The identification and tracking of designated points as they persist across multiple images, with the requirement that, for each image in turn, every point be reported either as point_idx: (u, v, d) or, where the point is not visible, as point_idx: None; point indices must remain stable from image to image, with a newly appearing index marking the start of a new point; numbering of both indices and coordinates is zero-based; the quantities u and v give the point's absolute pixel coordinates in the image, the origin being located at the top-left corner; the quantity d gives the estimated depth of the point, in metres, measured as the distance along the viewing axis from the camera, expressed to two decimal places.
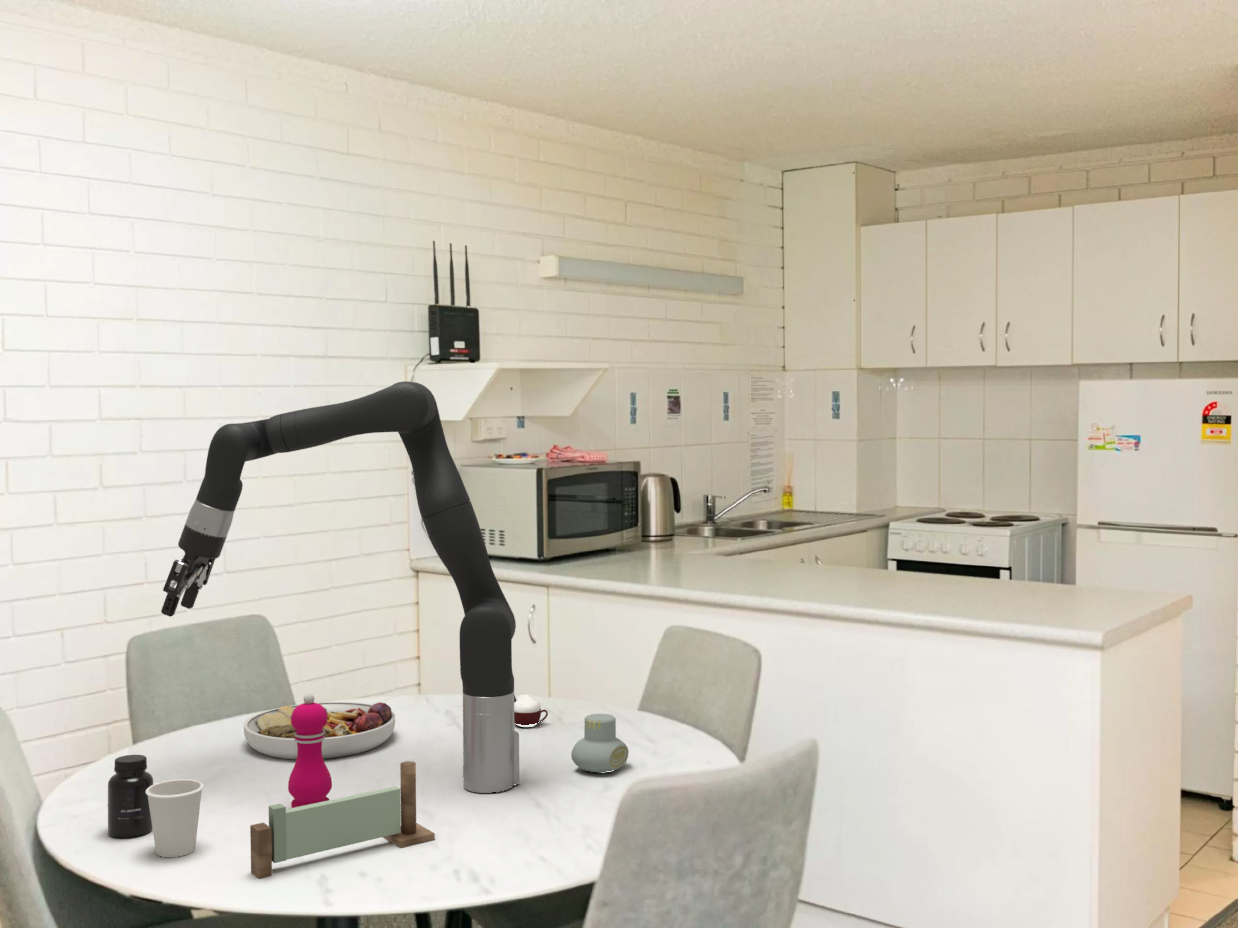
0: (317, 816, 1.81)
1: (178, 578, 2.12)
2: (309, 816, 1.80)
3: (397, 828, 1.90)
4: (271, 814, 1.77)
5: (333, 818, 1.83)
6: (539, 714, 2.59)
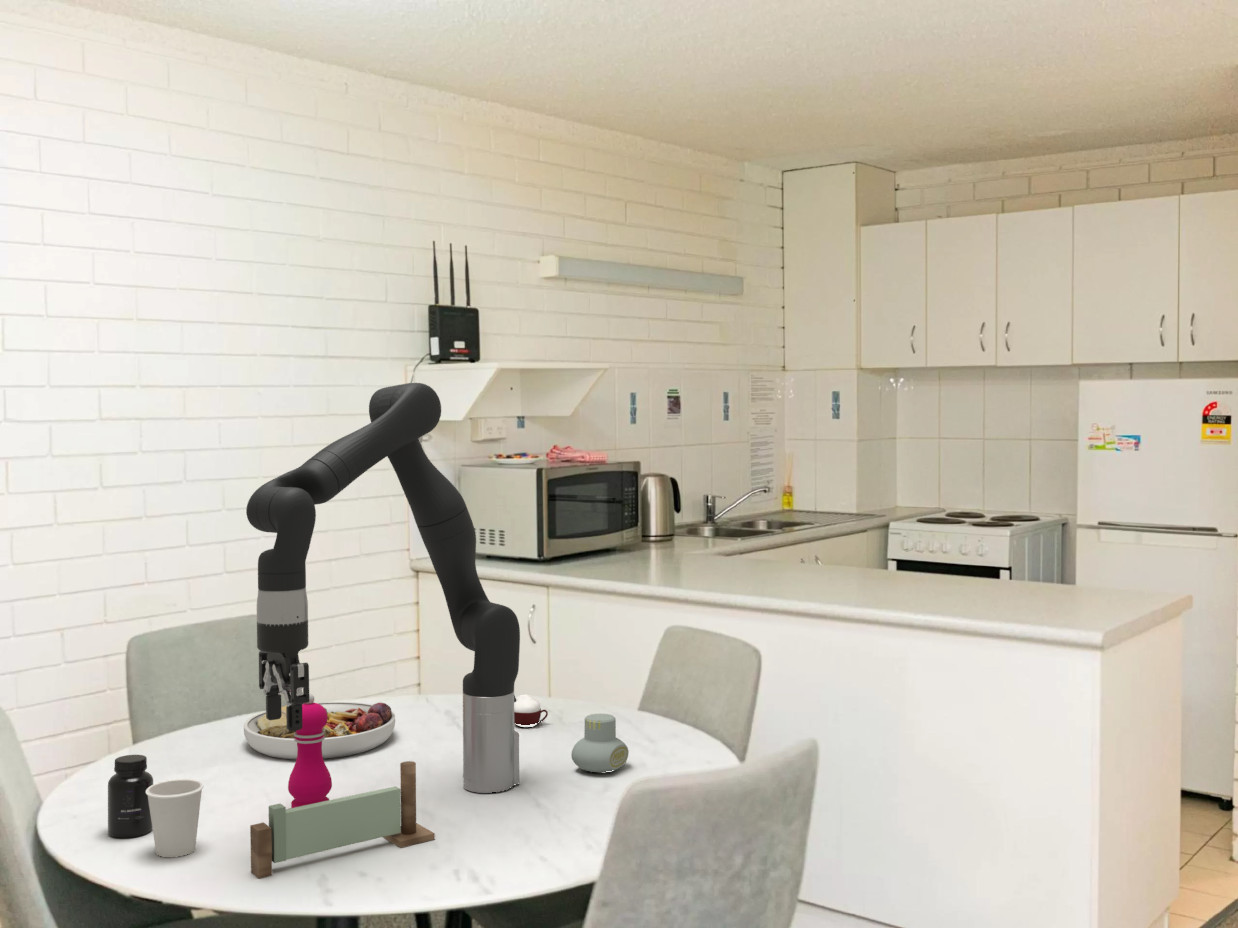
0: (317, 816, 1.81)
1: (305, 682, 1.79)
2: (309, 816, 1.80)
3: (397, 828, 1.90)
4: (271, 814, 1.77)
5: (333, 818, 1.83)
6: (539, 714, 2.59)
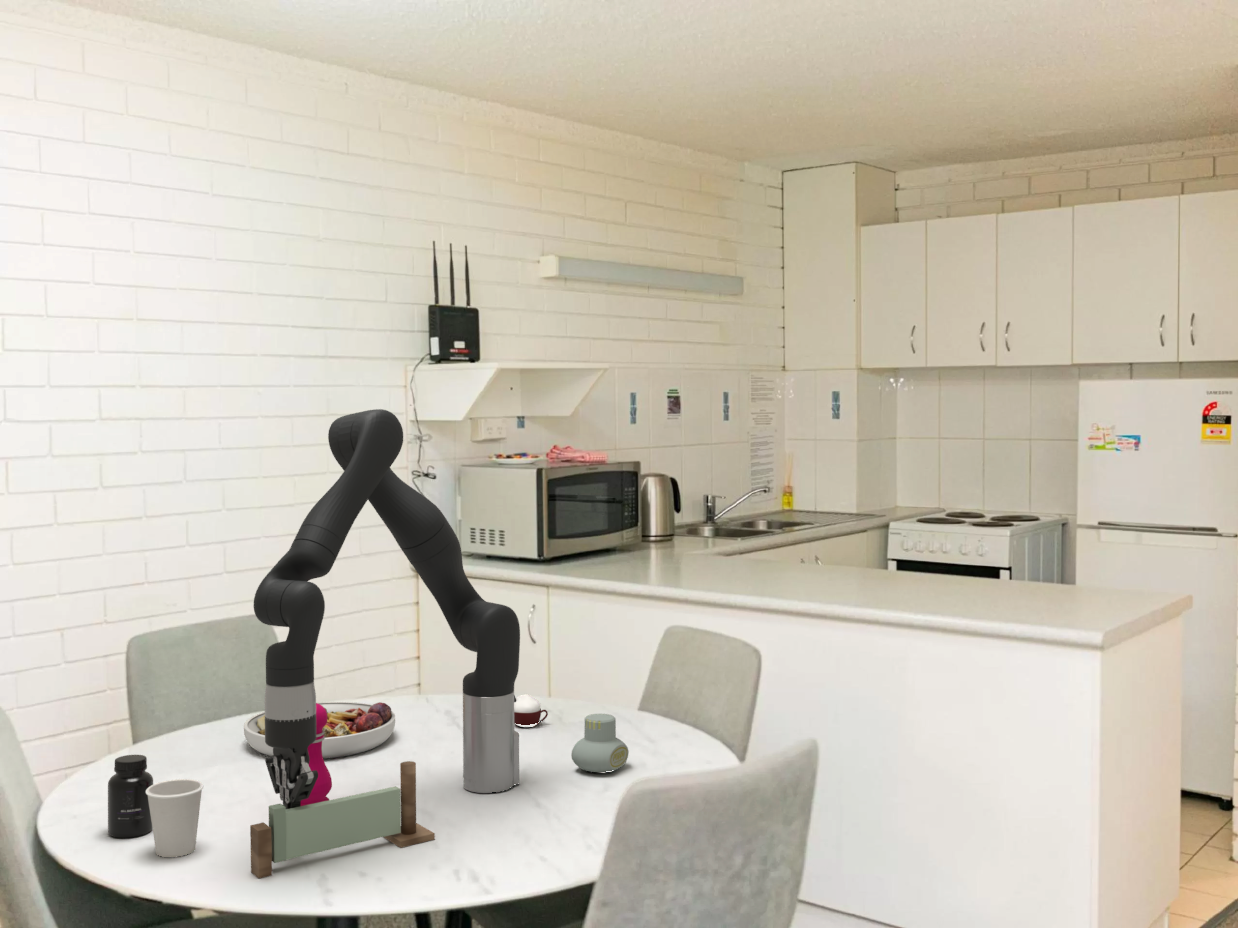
0: (317, 816, 1.81)
1: (310, 787, 1.80)
2: (309, 816, 1.80)
3: (397, 828, 1.90)
4: (271, 814, 1.77)
5: (333, 818, 1.83)
6: (539, 714, 2.59)
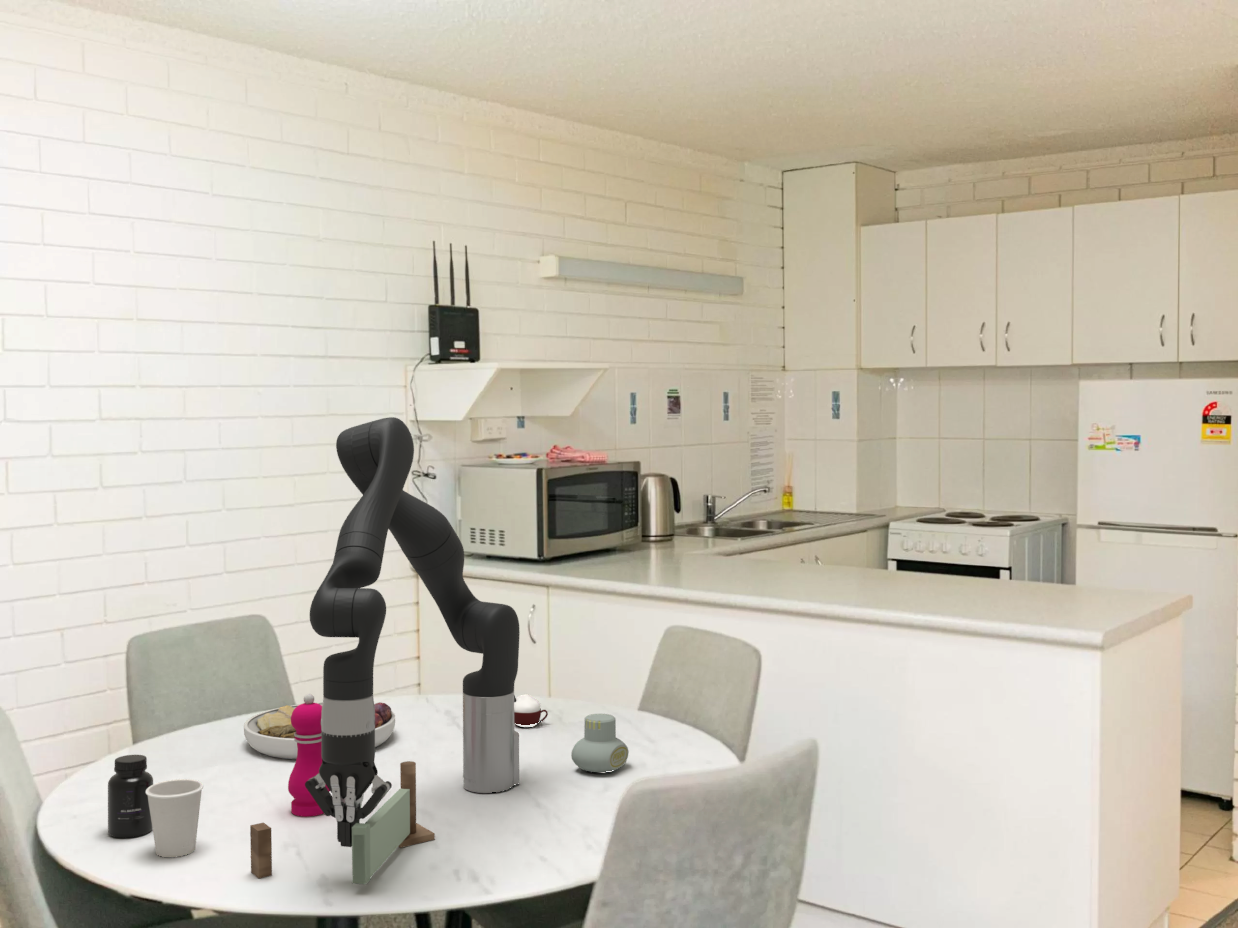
0: (380, 828, 1.76)
1: (380, 800, 1.74)
2: (377, 830, 1.75)
3: (408, 828, 1.89)
4: (360, 834, 1.69)
5: (386, 829, 1.78)
6: (539, 714, 2.59)
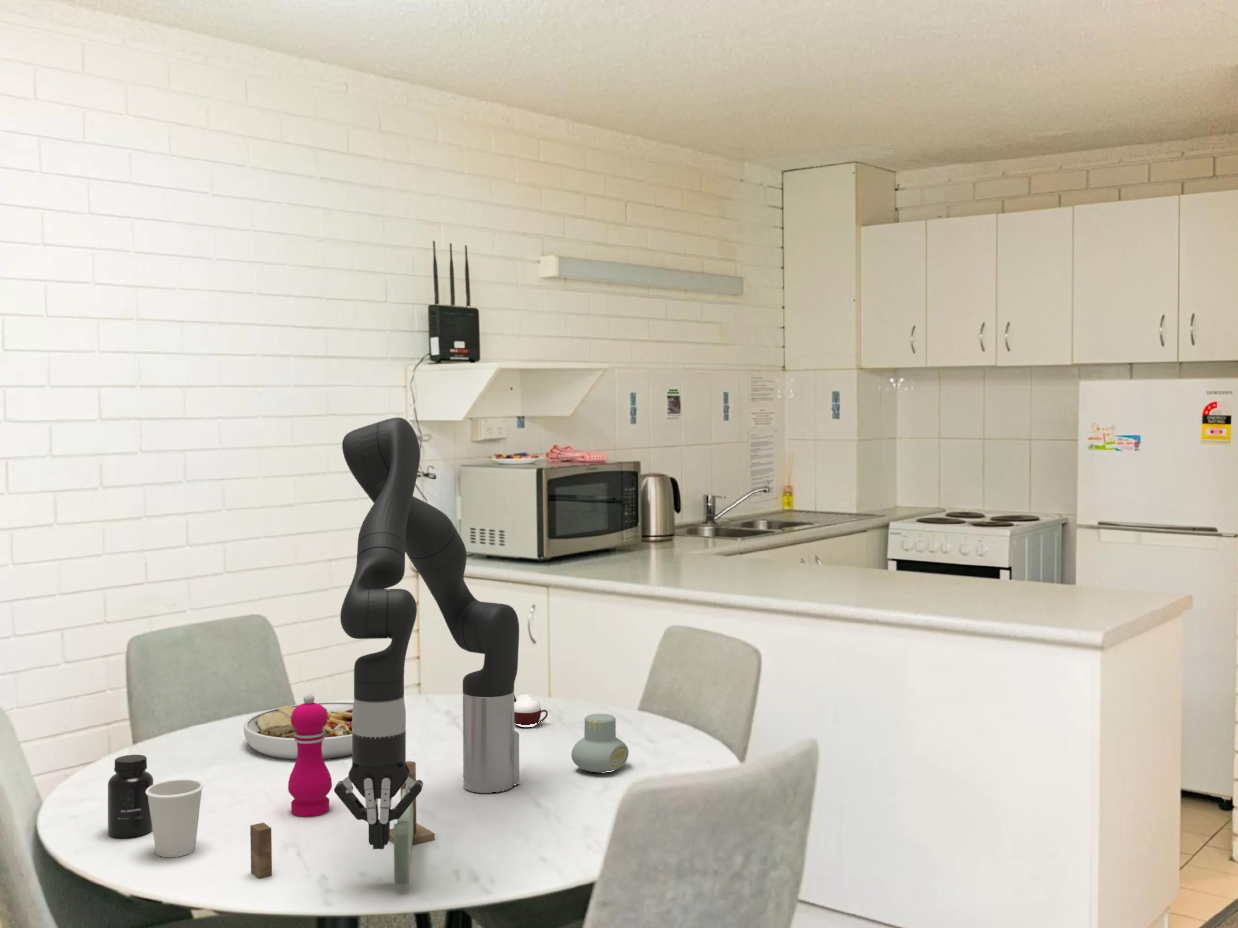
0: None
1: None
2: None
3: None
4: (402, 834, 1.69)
5: None
6: (539, 714, 2.59)
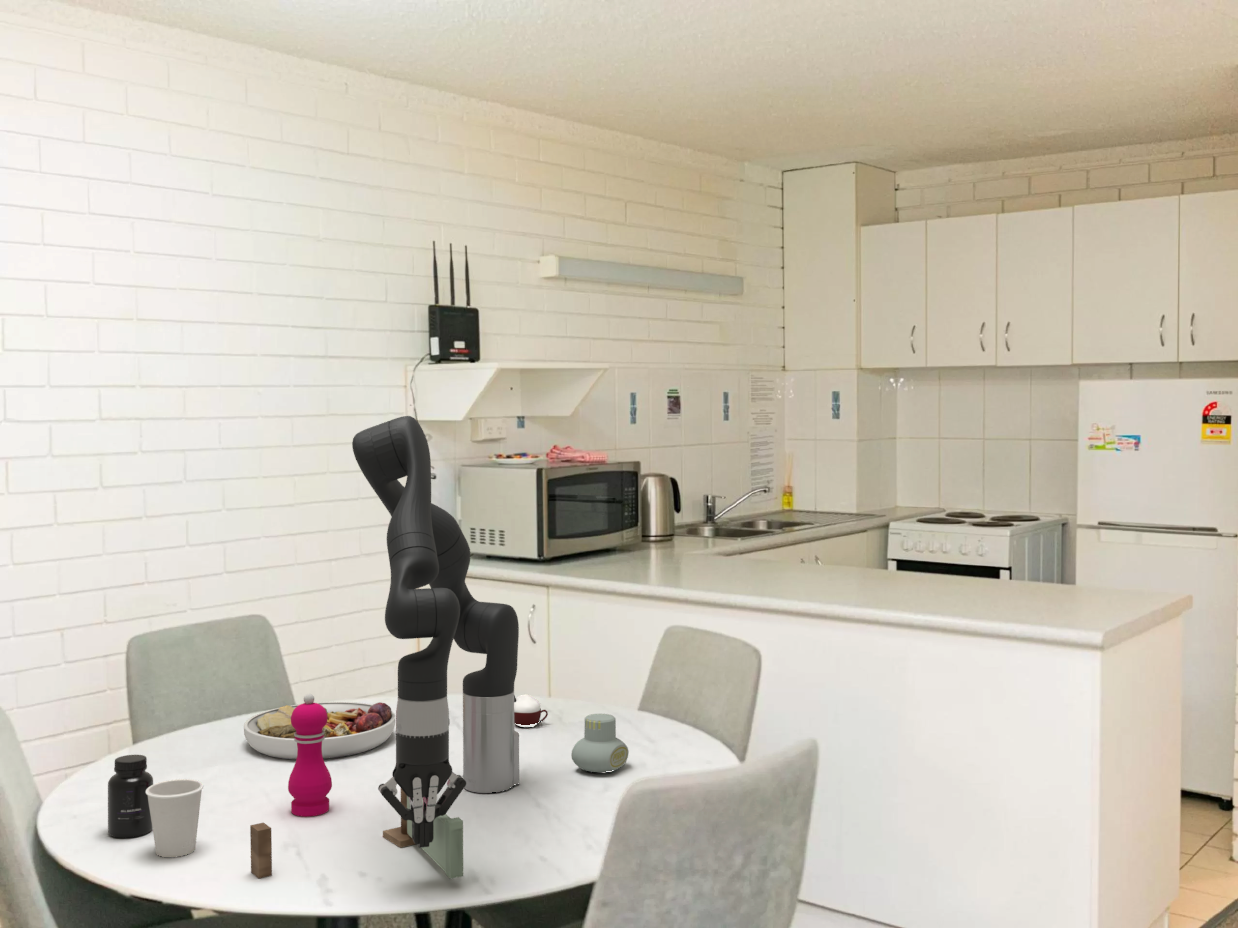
0: None
1: None
2: None
3: None
4: (458, 828, 1.72)
5: None
6: (539, 714, 2.59)
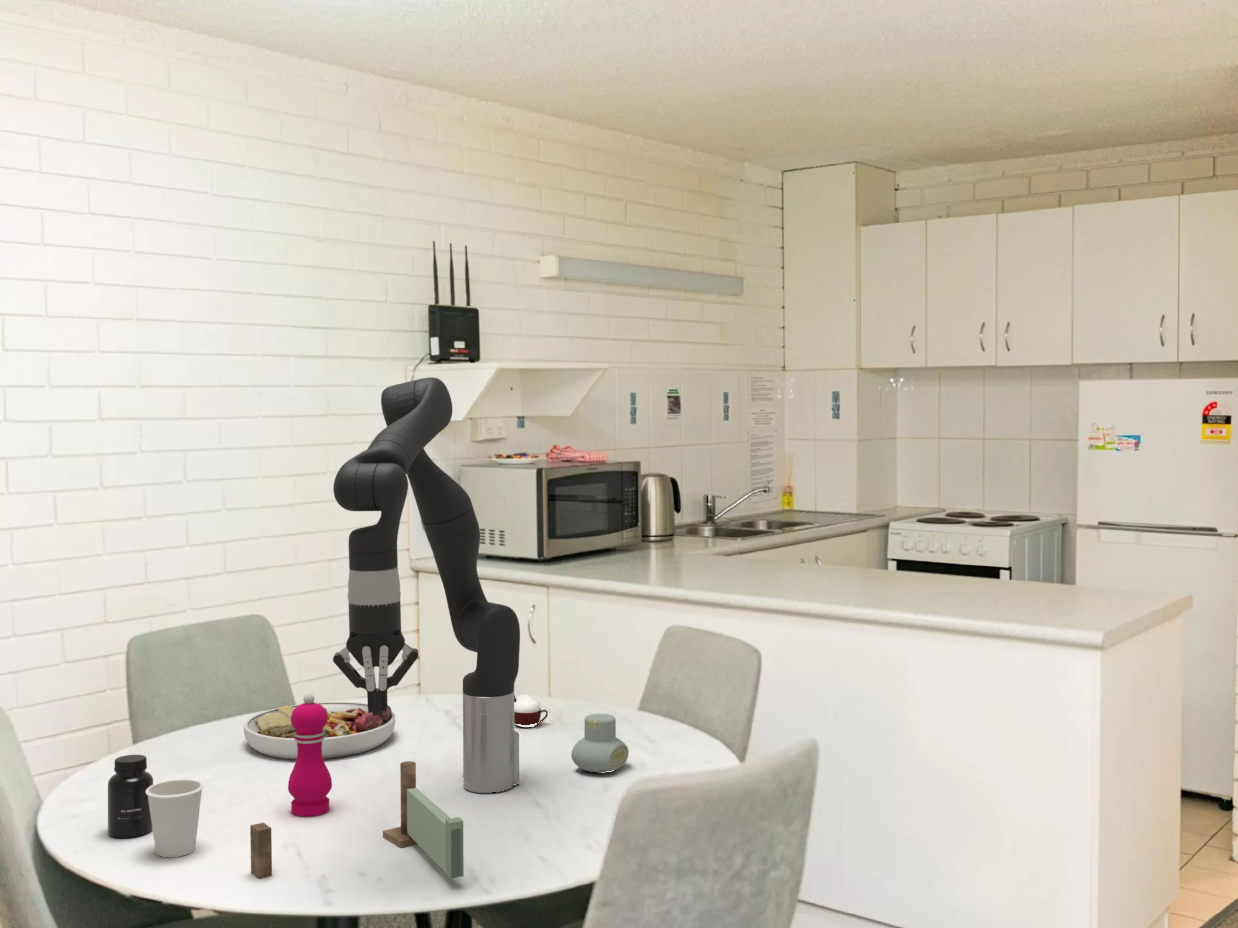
0: None
1: None
2: None
3: None
4: (458, 828, 1.72)
5: None
6: (539, 714, 2.59)
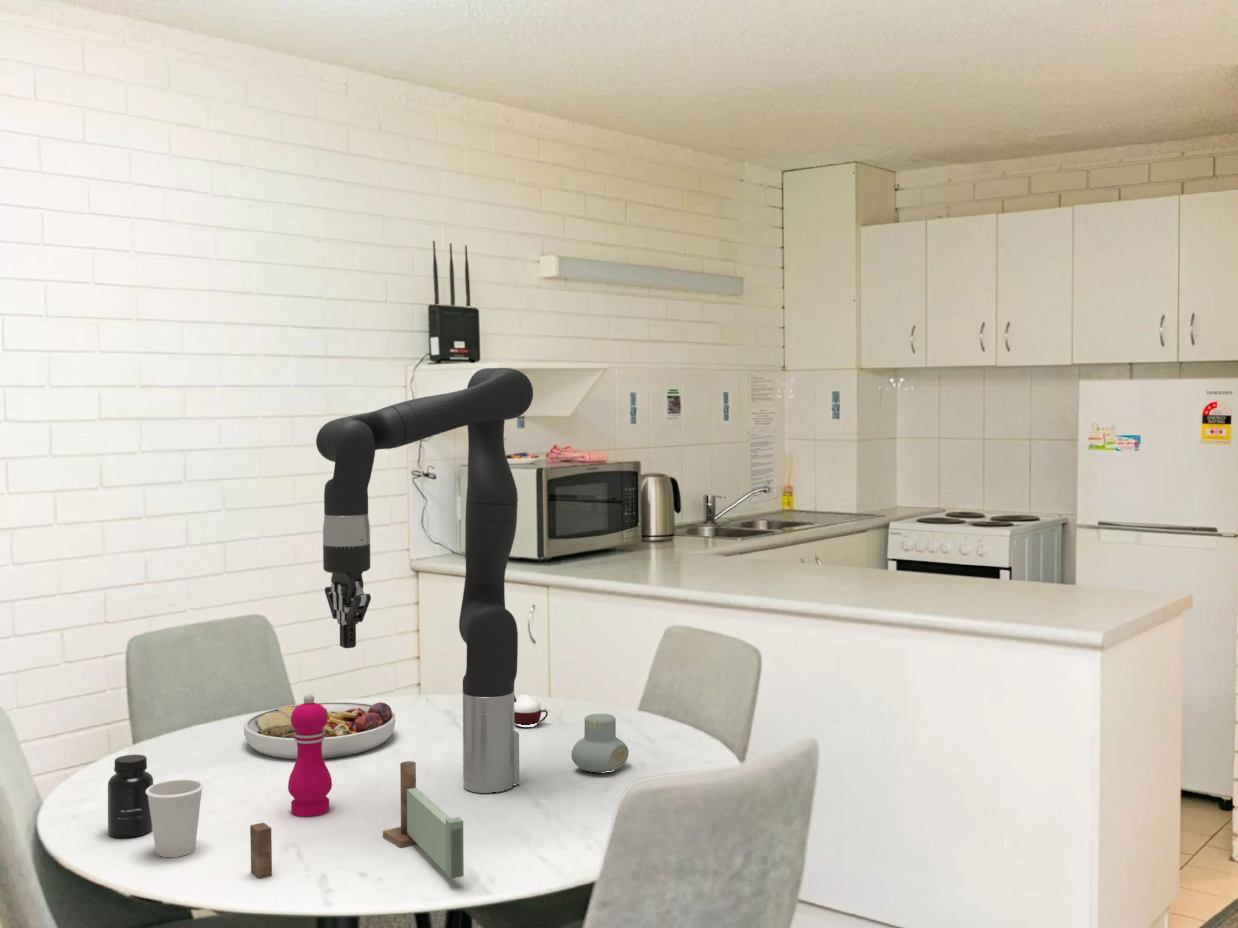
0: None
1: (363, 610, 1.95)
2: None
3: None
4: (458, 828, 1.72)
5: None
6: (539, 714, 2.59)
